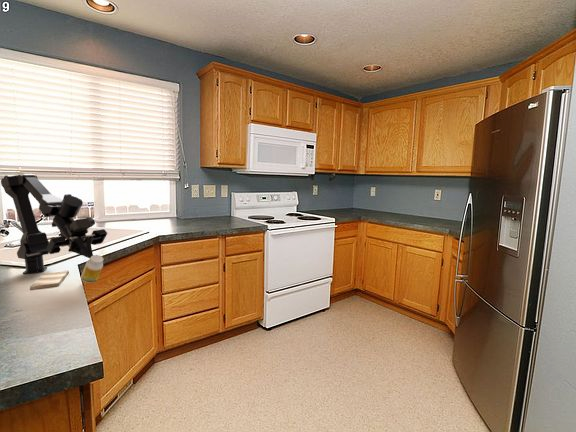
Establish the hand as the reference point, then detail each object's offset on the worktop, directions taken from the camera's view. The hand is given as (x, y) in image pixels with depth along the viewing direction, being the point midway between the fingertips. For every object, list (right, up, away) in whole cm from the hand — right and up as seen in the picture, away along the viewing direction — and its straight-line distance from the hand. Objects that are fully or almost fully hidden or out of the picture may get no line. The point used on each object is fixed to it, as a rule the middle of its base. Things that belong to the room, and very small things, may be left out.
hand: (91, 257), depth 110 cm
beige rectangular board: (-18, -9, +4) cm, 20 cm away
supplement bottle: (-2, -8, +2) cm, 9 cm away
